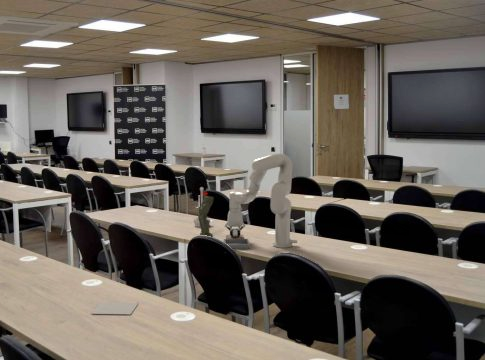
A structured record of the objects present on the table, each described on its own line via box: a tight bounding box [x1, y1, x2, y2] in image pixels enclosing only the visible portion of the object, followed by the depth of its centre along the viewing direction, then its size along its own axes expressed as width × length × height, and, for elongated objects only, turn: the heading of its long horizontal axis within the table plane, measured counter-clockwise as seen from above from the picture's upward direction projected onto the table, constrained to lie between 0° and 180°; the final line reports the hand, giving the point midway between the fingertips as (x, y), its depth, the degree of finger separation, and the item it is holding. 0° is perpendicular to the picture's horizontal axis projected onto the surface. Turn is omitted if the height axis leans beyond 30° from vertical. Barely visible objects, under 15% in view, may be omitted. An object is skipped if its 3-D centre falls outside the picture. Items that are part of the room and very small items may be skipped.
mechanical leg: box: [197, 195, 214, 237], centre depth 363 cm, size 14×7×30 cm, turn 143°
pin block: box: [225, 234, 246, 239], centre depth 355 cm, size 12×12×2 cm
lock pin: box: [232, 227, 239, 238], centre depth 355 cm, size 4×4×8 cm
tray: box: [223, 238, 251, 250], centre depth 338 cm, size 16×16×3 cm
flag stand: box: [193, 186, 211, 228], centre depth 402 cm, size 13×13×30 cm
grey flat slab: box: [91, 301, 139, 315], centre depth 222 cm, size 23×25×1 cm
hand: (235, 236), depth 355 cm, fingers closed on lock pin, 4 cm apart
